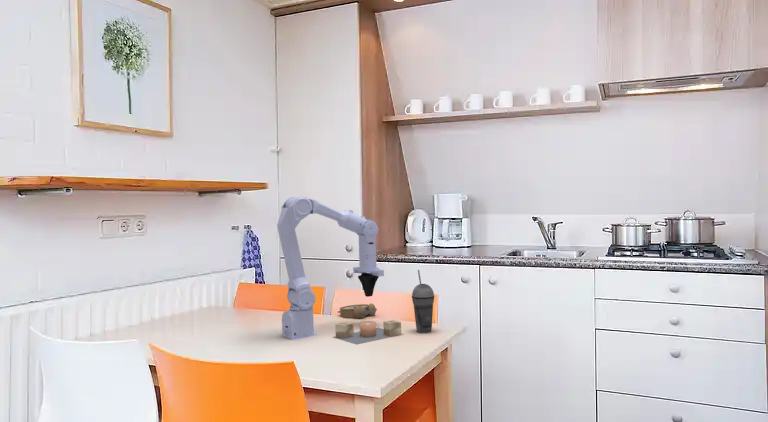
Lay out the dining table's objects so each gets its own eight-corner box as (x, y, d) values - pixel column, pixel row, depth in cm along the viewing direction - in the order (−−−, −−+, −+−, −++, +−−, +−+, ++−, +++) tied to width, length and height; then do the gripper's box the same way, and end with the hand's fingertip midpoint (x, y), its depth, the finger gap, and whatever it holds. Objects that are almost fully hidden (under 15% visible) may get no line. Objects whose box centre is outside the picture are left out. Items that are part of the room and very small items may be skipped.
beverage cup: (434, 336, 182) (432, 271, 182) (410, 335, 184) (408, 271, 183) (437, 330, 190) (435, 268, 189) (414, 330, 191) (412, 268, 191)
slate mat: (356, 346, 172) (356, 344, 172) (332, 339, 183) (332, 337, 183) (404, 336, 184) (404, 334, 184) (378, 329, 194) (378, 327, 194)
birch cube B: (389, 336, 181) (389, 323, 180) (383, 334, 184) (383, 321, 184) (401, 335, 182) (400, 322, 182) (394, 332, 186) (394, 319, 186)
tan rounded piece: (366, 338, 180) (366, 325, 179) (356, 335, 184) (356, 322, 183) (379, 335, 183) (379, 322, 183) (369, 332, 187) (369, 320, 186)
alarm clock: (354, 304, 227) (382, 300, 217) (356, 317, 226) (384, 314, 216) (332, 308, 219) (361, 305, 209) (334, 322, 218) (363, 319, 208)
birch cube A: (345, 338, 180) (345, 325, 180) (335, 337, 182) (335, 324, 182) (354, 336, 183) (353, 323, 183) (344, 334, 185) (343, 321, 185)
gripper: (390, 255, 194) (391, 297, 195) (364, 253, 206) (365, 292, 206) (373, 257, 190) (374, 299, 190) (347, 255, 201) (348, 294, 202)
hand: (368, 296), depth 198 cm, fingers closed
